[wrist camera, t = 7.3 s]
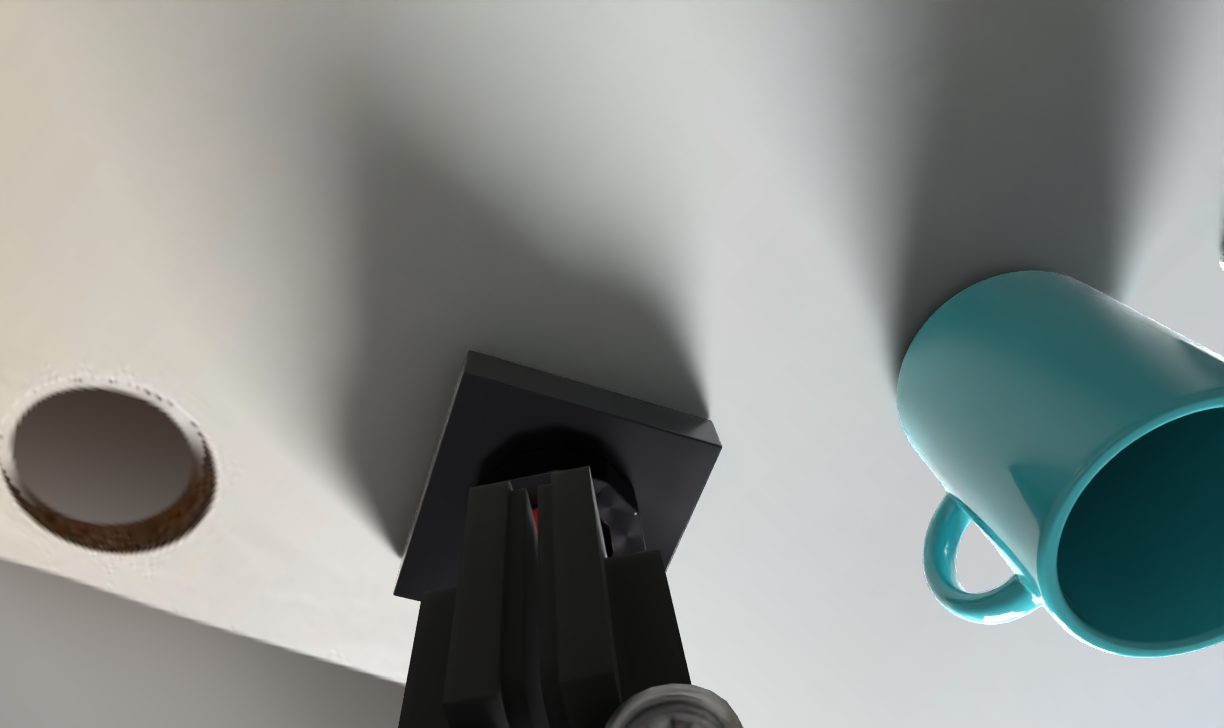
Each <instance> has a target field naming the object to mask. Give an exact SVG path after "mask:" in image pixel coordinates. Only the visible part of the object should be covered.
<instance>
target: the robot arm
mask: <svg viewBox="0 0 1224 728" xmlns="http://www.w3.org/2000/svg"><path fill="white" fill-rule="evenodd" d="M537 516H538V534H537V530H536V526H535V521H534V517H533V513H532V509H531V504H530V500H529V496H528V492H527V490H526V488H523V489H518V490H513V489H512V486H511V483H510V482H509V481H504V482H499V483H493V484H488V485H482V486H477V487H471V488H470V489H469V494H468V502H467V510H466V518H465V526H464V534H463V542H462V550H461V558H460V566H459V574H458V582H457V586H452V587H446V588H441V589H435V590H430V591H426V592H425V593H424V594H423V597H422V600H421V604H420V610H419V615H418V621H417V626H416V632H415V637H414V643H413V649H412V654H411V660H410V665H409V671H408V676H407V682H406V687H405V693H404V699H403V704H402V709H401V716H400V721H399V726H398V728H743V727H742V724H741V722H740V720H739V718H738V716H737V715H736V713H735V712H734V711H733V709H732V708H731V707H730V705H729V704H728V703H727V701H725V700H724V699H722V698H721V697H719V696H718V695H716V694H715V693H714V692H712V691H710V690H707V689H704V688H701V687H698V686H695V685H691V681H690V676H689V672H688V668H687V663H686V659H685V655H684V650H683V646H682V642H681V637H680V633H679V629H678V624H677V620H676V616H675V612H674V607H673V603H672V599H671V594H670V590H669V586H668V581H667V577H666V573H665V568H664V564H663V560H662V556H661V552H660V549H659V548H658V549H652V550H647V551H641V552H636V553H630V554H625V555H620V556H614V557H609V558H607V553H606V548H605V543H604V538H603V533H602V528H601V522H600V517H599V512H598V507H597V502H596V497H595V492H594V487H593V482H592V477H591V472H590V468H589V466H586V467H581V468H575V469H570V470H564V471H559V472H553V473H551V484H545V485H540V486H537Z"/></svg>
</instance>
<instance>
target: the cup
mask: <svg viewBox="0 0 1224 728" xmlns="http://www.w3.org/2000/svg"><path fill="white" fill-rule="evenodd" d="M897 409H898V415H899V419H900V423H901V426H902V429H903V431H904V433H905V435H906V437H907V439H908V441H909V442H910V444H911V446H912V447H913V448H914V450H915V451H916V452H917V454H918V455H919V456H920V457H921V459H922V460H923V461H924V462H925V464H926V465H927V466H928V467H929V469H930V470H931V471H932V472H933V474H934V475H935V476H936V478H937V479H938V480H939V482H940V483H941V484H942V486H943V487H944V488H945V490H946V495H945V497H944V498H943V500H942V501H941V503H940V505H939V506H938V508H937V510H936V511H935V513H934V515H933V517H932V519H931V521H930V524H929V526H928V529H927V532H926V536H925V540H924V545H923V554H922V563H923V571H924V576H925V579H926V582H927V584H928V587H929V588H930V590H931V592H932V593H933V595H934V596H935V598H936V599H937V601H938V602H939V603H940V604H941V605H942V606H944V607H945V608H946V609H947V610H949V611H950V612H951V613H953V614H954V615H956V616H958V617H960V618H962V619H965V620H967V621H970V622H974V623H979V624H1002V623H1007V622H1011V621H1014V620H1017V619H1019V618H1021V617H1023V616H1025V615H1027V614H1029V613H1031V612H1033V611H1034V610H1036V609H1038V608H1039V607H1041V606H1044V607H1045V609H1046V610H1047V611H1048V612H1049V613H1050V615H1051V616H1052V617H1053V618H1054V619H1055V621H1056V622H1057V623H1058V624H1059V625H1060V626H1061V627H1062V628H1063V629H1064V630H1065V631H1067V632H1068V633H1069V634H1070V635H1071V636H1073V637H1074V638H1076V639H1077V640H1079V641H1081V642H1082V643H1084V644H1086V645H1088V646H1090V647H1093V648H1095V649H1098V650H1100V651H1104V652H1107V653H1110V654H1115V655H1120V656H1127V657H1140V658H1153V657H1166V656H1174V655H1179V654H1185V653H1189V652H1193V651H1197V650H1200V649H1204V648H1207V647H1210V646H1213V645H1215V644H1218V643H1221V642H1223V641H1224V357H1223V356H1221V355H1219V354H1217V353H1216V352H1214V351H1212V350H1210V349H1208V348H1206V347H1204V346H1202V345H1200V344H1199V343H1197V342H1195V341H1193V340H1191V339H1189V338H1187V337H1185V336H1183V335H1182V334H1180V333H1178V332H1176V331H1174V330H1172V329H1170V328H1168V327H1166V326H1165V325H1163V324H1161V323H1159V322H1157V321H1155V320H1153V319H1151V318H1149V317H1148V316H1146V315H1144V314H1142V313H1140V312H1138V311H1136V310H1134V309H1132V308H1131V307H1129V306H1127V305H1125V304H1123V303H1121V302H1119V301H1117V300H1115V299H1114V298H1112V297H1110V296H1108V295H1106V294H1104V293H1102V292H1100V291H1098V290H1096V289H1095V288H1093V287H1091V286H1089V285H1087V284H1085V283H1083V282H1081V281H1079V280H1077V279H1074V278H1072V277H1069V276H1066V275H1063V274H1059V273H1054V272H1049V271H1039V270H1027V271H1016V272H1010V273H1005V274H1001V275H997V276H994V277H991V278H988V279H985V280H982V281H980V282H978V283H975V284H973V285H972V286H970V287H968V288H966V289H964V290H962V291H961V292H959V293H958V294H956V295H955V296H953V297H952V298H950V299H949V300H948V301H947V302H945V303H944V304H943V305H942V306H941V307H939V308H938V309H937V310H936V311H935V312H934V313H933V314H932V315H931V316H930V317H929V319H928V320H927V321H926V322H925V323H924V324H923V326H922V327H921V328H920V330H919V331H918V333H917V334H916V336H915V337H914V339H913V341H912V342H911V344H910V346H909V348H908V350H907V352H906V354H905V357H904V360H903V362H902V365H901V369H900V373H899V377H898V383H897ZM971 520H973V522H974V523H975V524H976V525H977V526H978V528H979V529H980V530H981V531H982V533H983V534H984V535H985V536H986V537H987V539H988V540H989V541H990V542H991V544H992V545H993V546H994V547H995V549H996V550H997V551H998V552H999V554H1000V555H1001V556H1002V558H1003V559H1004V560H1005V561H1006V563H1007V564H1008V566H1009V567H1010V568H1011V569H1012V571H1013V572H1014V574H1013V575H1012V576H1011V577H1010V578H1009V579H1008V580H1007V581H1005V582H1004V583H1002V584H1001V585H999V586H997V587H995V588H993V589H991V590H987V591H984V592H978V593H972V592H968V591H966V590H965V589H964V588H963V587H962V586H961V583H960V581H959V578H958V574H957V567H956V559H957V552H958V547H959V544H960V541H961V538H962V536H963V534H964V532H965V530H966V528H967V526H968V525H969V523H970V522H971Z"/></svg>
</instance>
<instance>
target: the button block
mask: <svg viewBox="0 0 1224 728" xmlns="http://www.w3.org/2000/svg"><path fill="white" fill-rule="evenodd" d="M721 449H722V445H721V442H720V440H719V437H718V435H717V433H716V430H715V428H714V425H713V423H712V421H710V420H707V419H703V418H700V417H697V416H693V415H690V414H686V413H683V412H679V411H676V410H673V409H669V408H666V407H662V406H659V405H656V404H652V403H649V402H645V401H642V400H638V399H635V398H632V397H628V396H625V395H621V394H618V393H614V392H611V391H608V390H604V389H601V388H597V387H594V386H590V385H587V384H584V383H580V382H577V381H573V380H570V379H566V378H563V377H560V376H556V375H553V374H549V373H546V372H542V371H539V370H536V369H532V368H529V367H525V366H522V365H519V364H515V363H512V362H508V361H505V360H501V359H498V358H495V357H491V356H488V355H484V354H481V353H477V352H474V351H471V350H468V351H467V353H466V357H465V360H464V363H463V366H462V369H461V372H460V375H459V379H458V382H457V385H456V388H455V391H454V394H453V398H452V401H451V404H450V407H449V410H448V413H447V417H446V420H445V423H444V426H443V429H442V432H441V436H440V439H439V442H438V445H437V448H436V451H435V455H434V458H433V461H432V464H431V467H430V470H429V474H428V477H427V480H426V483H425V486H424V489H423V493H422V496H421V499H420V502H419V505H418V508H417V512H416V515H415V518H414V521H413V524H412V527H411V530H410V534H409V537H408V540H407V543H406V546H405V549H404V553H403V556H402V559H401V562H400V566H399V571H398V575H397V579H396V583H395V587H394V592H393V594H394V595H395V596H399V597H403V598H408V599H412V600H417V601H421V600H422V597H423V594H424V593H425V592H426V591H430V590H435V589H441V588H446V587H452V586H457V582H458V574H459V566H460V558H461V550H462V542H463V534H464V526H465V518H466V510H467V502H468V494H469V489H470V488H471V487H477V486H482V485H488V484H493V483H499V482H504V481H509V482H510V483H511V486H512V489H513V490H518V489H523V488H526V490H527V492H528V496H529V500H530V504H531V509H534V508H537V486H540V485H545V484H551V473H553V472H559V471H564V470H570V469H575V468H581V467H586V466H589V468H590V472H591V477H592V482H593V487H594V492H595V497H596V502H597V507H598V512H599V517H600V522H601V528H602V533H603V538H604V543H605V548H606V553H607V558H609V557H614V556H620V555H625V554H630V553H636V552H641V551H647V550H652V549H658V548H659V549H660V552H661V556H662V560H663V564H664V568H665V573H666V571H667V569H668V567H669V564H670V562H671V560H672V558H673V555H674V553H675V551H676V549H677V547H678V544H679V542H680V540H681V538H682V535H683V533H684V531H685V529H686V527H687V524H688V522H689V520H690V518H691V515H692V513H693V511H694V509H695V507H696V504H697V502H698V500H699V498H700V495H701V493H702V491H703V489H704V487H705V484H706V482H707V480H708V478H709V476H710V473H711V471H712V469H713V467H714V464H715V462H716V460H717V458H718V456H719V453H720V451H721Z"/></svg>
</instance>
